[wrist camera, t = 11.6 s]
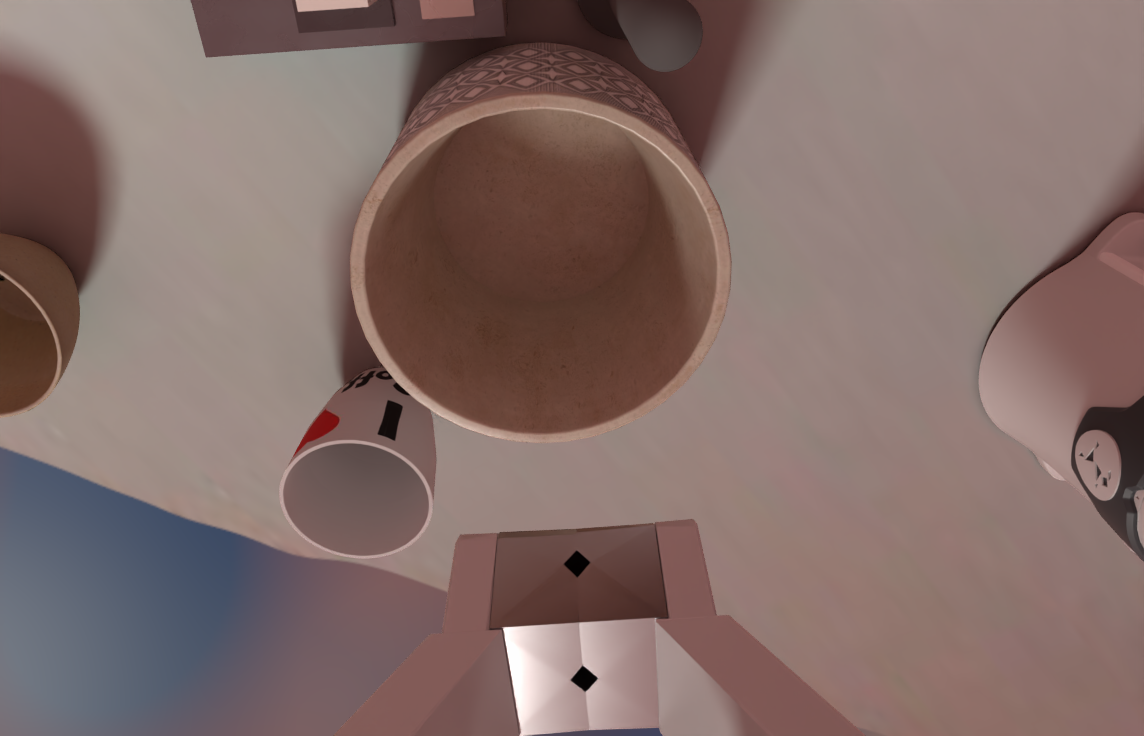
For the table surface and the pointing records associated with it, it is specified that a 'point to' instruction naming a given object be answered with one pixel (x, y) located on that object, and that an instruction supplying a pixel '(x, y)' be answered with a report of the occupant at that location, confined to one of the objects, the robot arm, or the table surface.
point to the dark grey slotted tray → (341, 24)
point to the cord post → (650, 28)
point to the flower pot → (33, 322)
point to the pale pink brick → (331, 4)
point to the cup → (363, 471)
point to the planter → (540, 248)
